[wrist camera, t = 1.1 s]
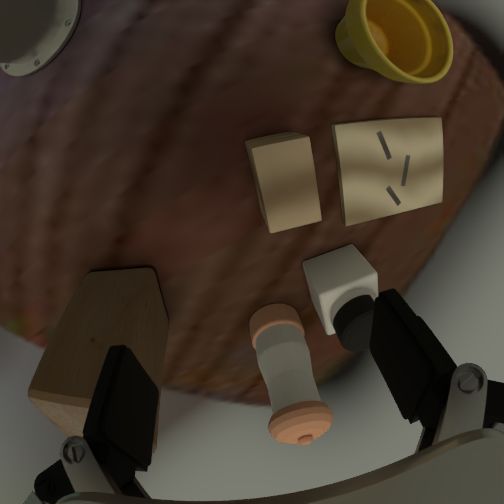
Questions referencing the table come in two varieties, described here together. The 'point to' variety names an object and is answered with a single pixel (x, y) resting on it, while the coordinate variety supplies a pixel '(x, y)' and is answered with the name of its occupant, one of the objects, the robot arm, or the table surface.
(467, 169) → the table surface
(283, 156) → the block
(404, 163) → the board
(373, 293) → the medicine bottle
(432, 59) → the plant pot
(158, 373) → the wooden block
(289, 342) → the pepper shaker
